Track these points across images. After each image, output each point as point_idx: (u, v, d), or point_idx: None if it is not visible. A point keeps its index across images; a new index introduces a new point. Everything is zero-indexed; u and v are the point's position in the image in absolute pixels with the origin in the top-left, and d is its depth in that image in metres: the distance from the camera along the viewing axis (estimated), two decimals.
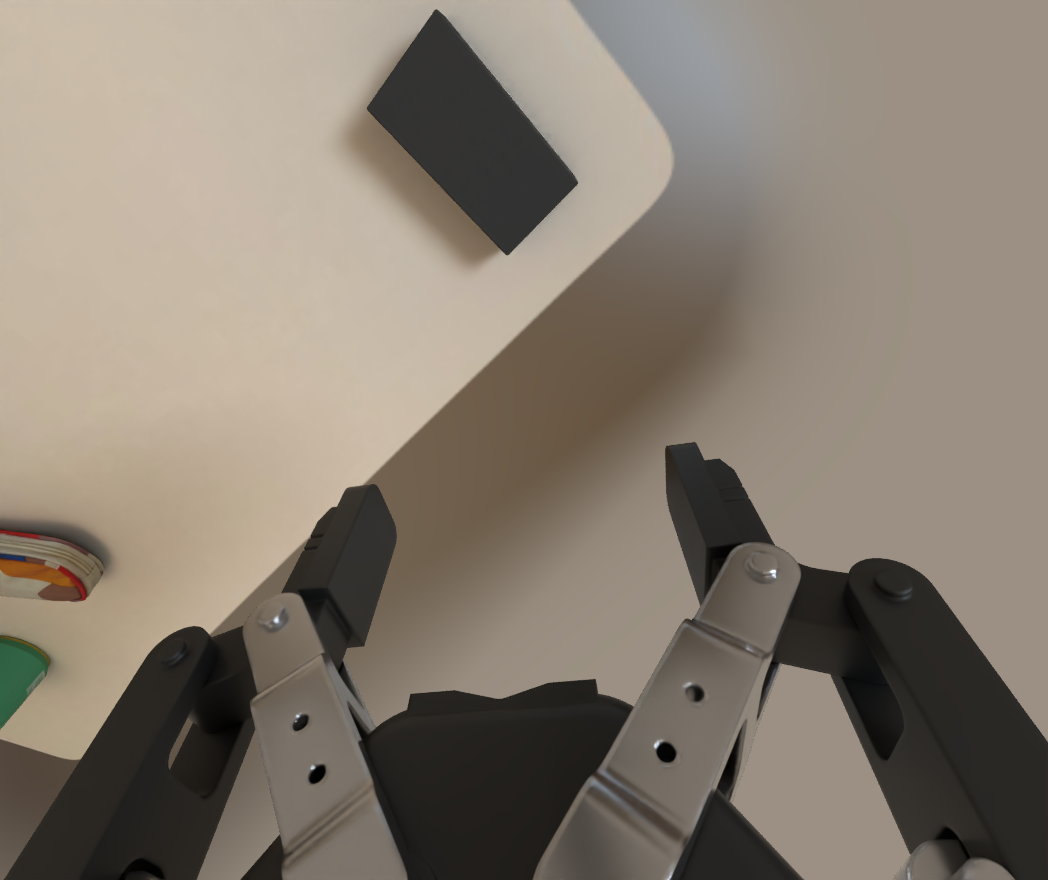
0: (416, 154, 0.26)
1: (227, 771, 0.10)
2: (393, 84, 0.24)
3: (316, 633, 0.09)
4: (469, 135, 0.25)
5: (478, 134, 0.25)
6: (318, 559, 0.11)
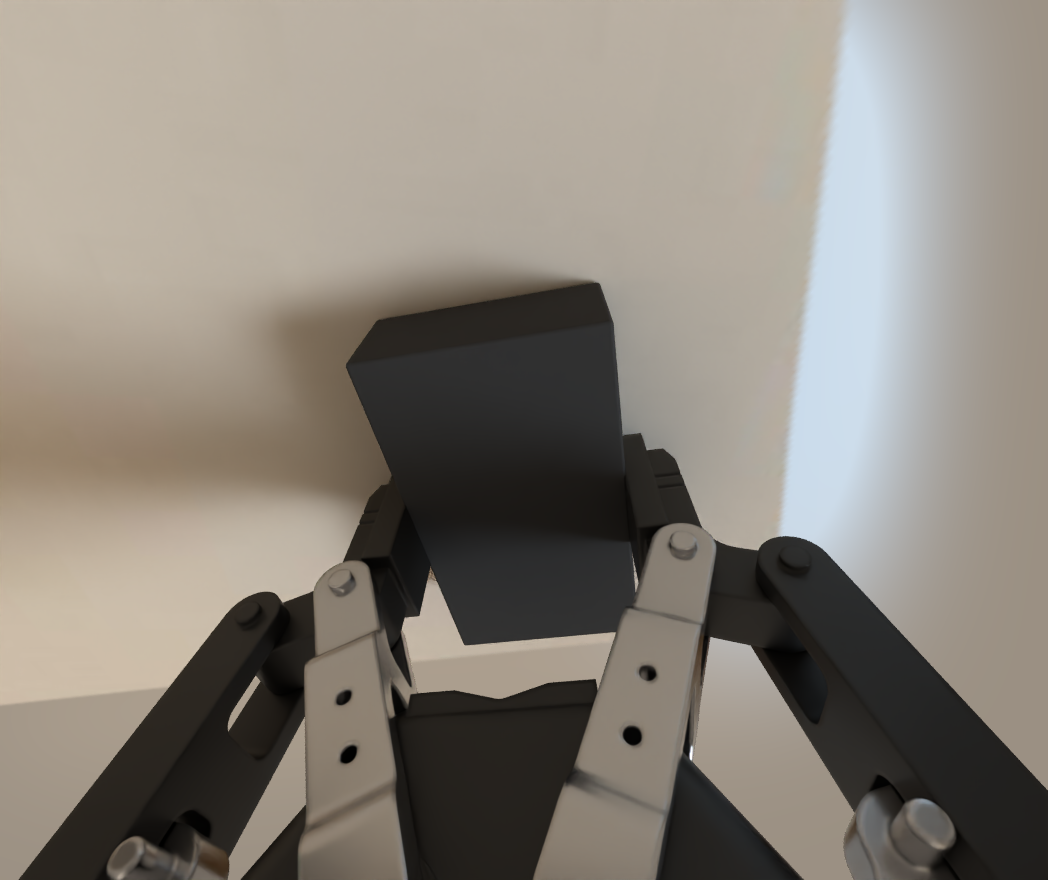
0: (402, 477, 0.12)
1: (282, 736, 0.10)
2: (433, 368, 0.10)
3: (376, 607, 0.10)
4: (521, 507, 0.12)
5: (539, 513, 0.12)
6: (377, 531, 0.12)
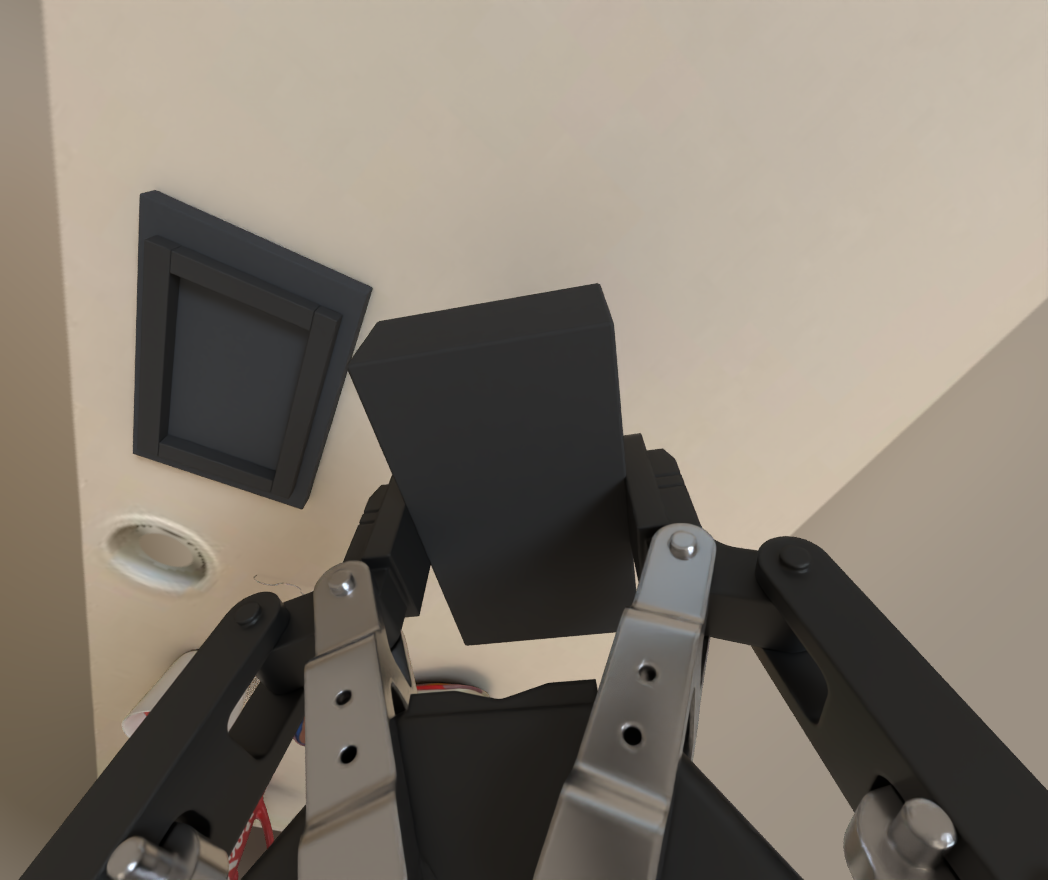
0: (403, 478, 0.12)
1: (282, 736, 0.10)
2: (434, 369, 0.10)
3: (376, 607, 0.10)
4: (522, 507, 0.12)
5: (539, 513, 0.12)
6: (377, 531, 0.12)
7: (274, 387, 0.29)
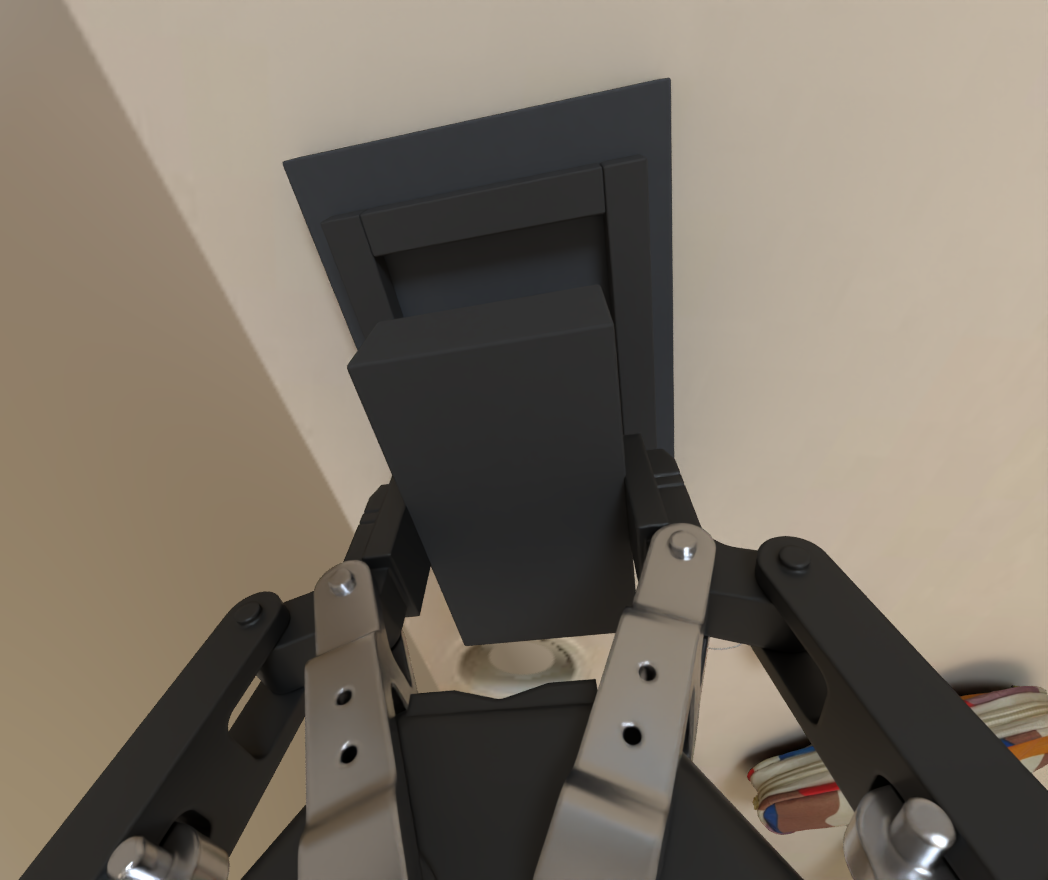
0: (403, 479, 0.12)
1: (283, 736, 0.10)
2: (434, 370, 0.10)
3: (376, 607, 0.10)
4: (521, 508, 0.12)
5: (539, 515, 0.12)
6: (378, 530, 0.12)
7: None
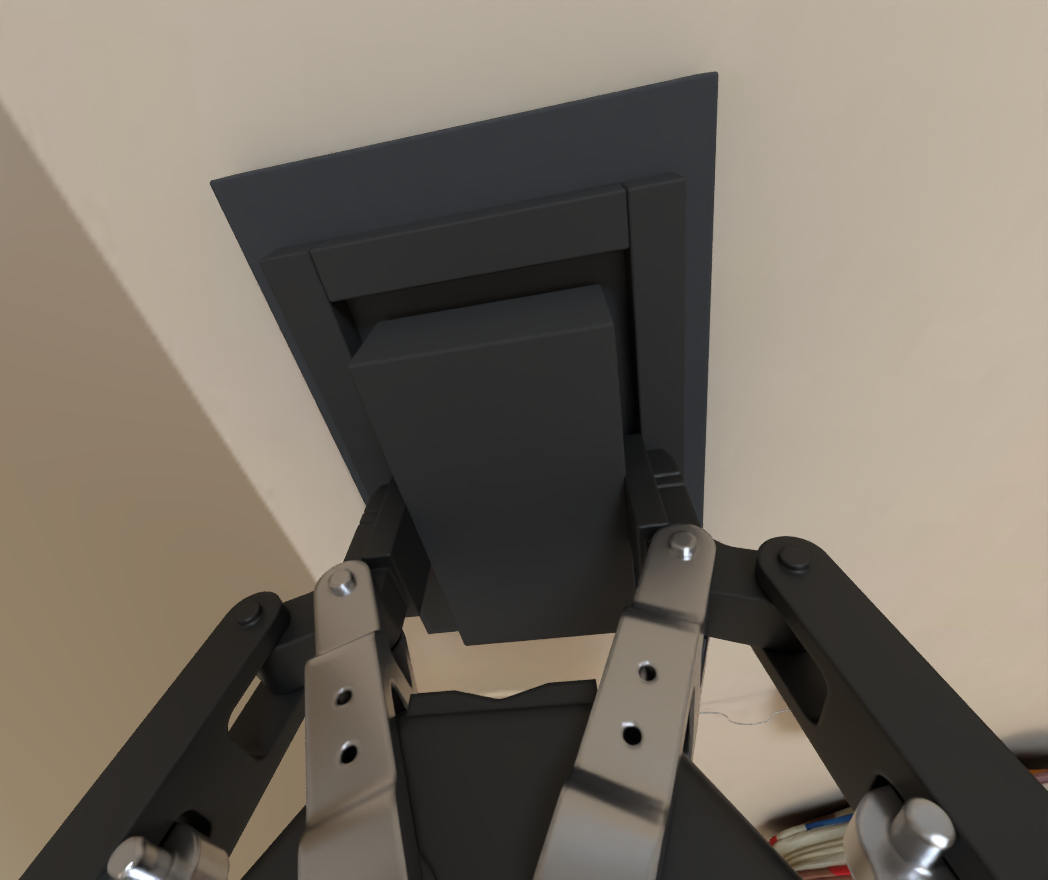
0: (403, 479, 0.12)
1: (282, 736, 0.10)
2: (434, 370, 0.10)
3: (376, 607, 0.10)
4: (522, 508, 0.12)
5: (539, 514, 0.12)
6: (378, 530, 0.12)
7: None
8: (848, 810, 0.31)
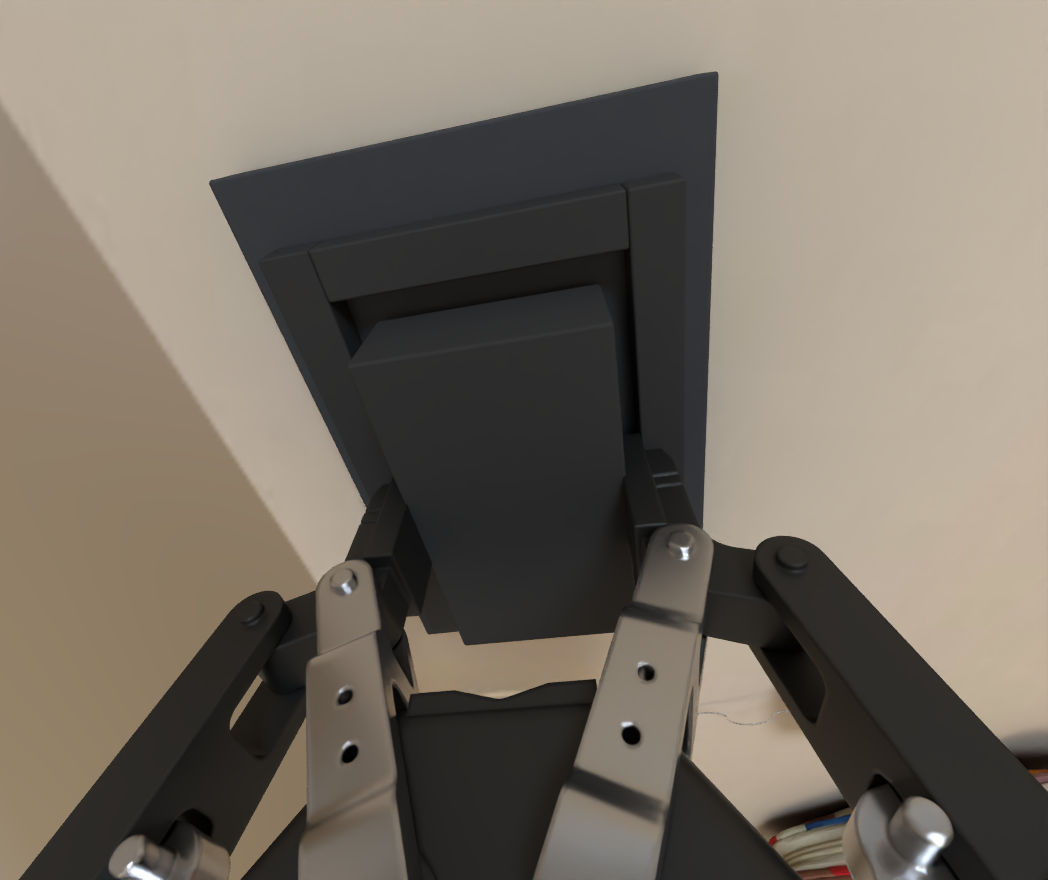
0: (403, 478, 0.12)
1: (284, 736, 0.10)
2: (434, 369, 0.10)
3: (378, 606, 0.10)
4: (522, 508, 0.12)
5: (539, 514, 0.12)
6: (379, 530, 0.12)
7: None
8: (848, 810, 0.31)
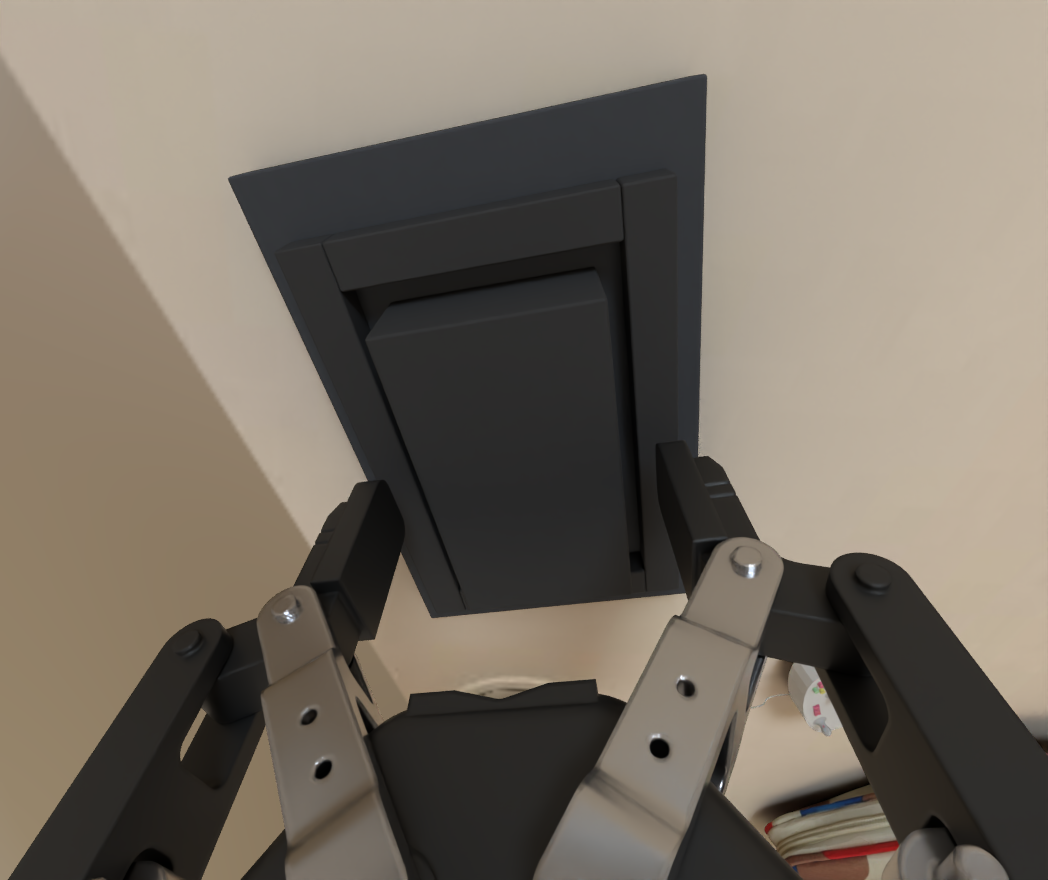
0: (414, 446, 0.13)
1: (238, 763, 0.10)
2: (444, 342, 0.11)
3: (328, 627, 0.10)
4: (524, 474, 0.13)
5: (539, 480, 0.13)
6: (330, 553, 0.11)
7: None
8: (842, 796, 0.32)
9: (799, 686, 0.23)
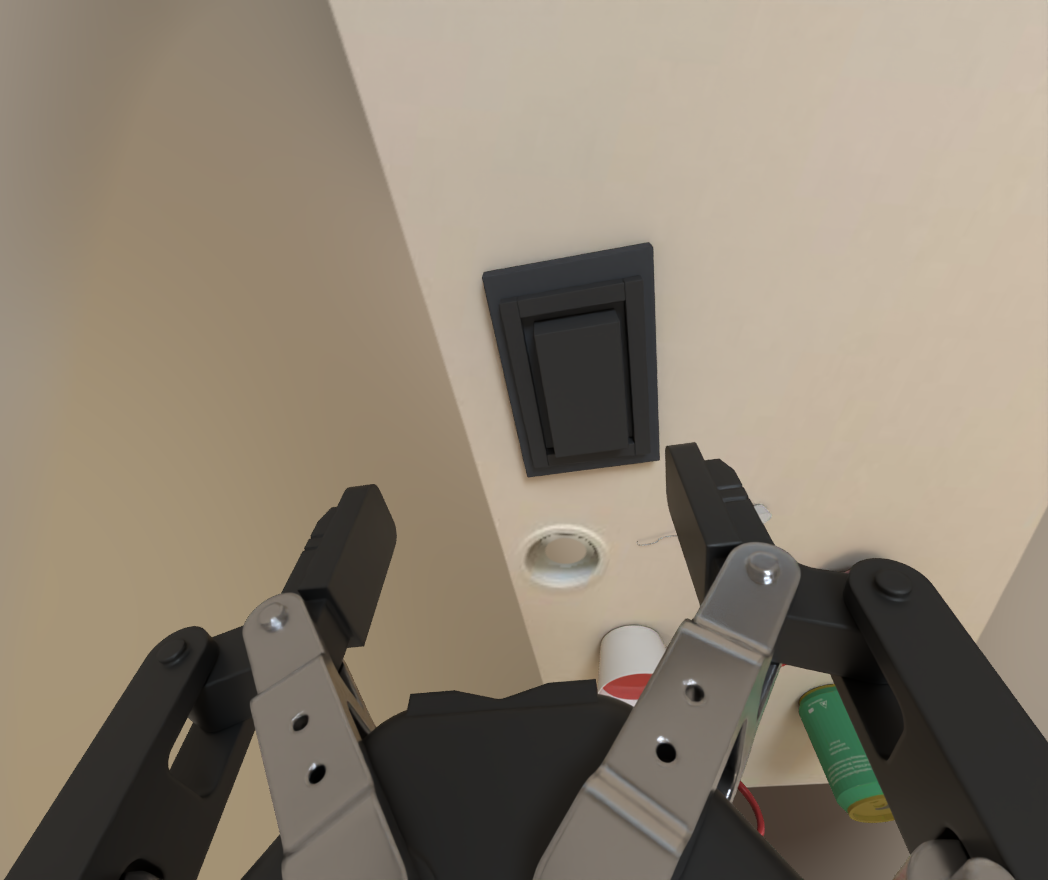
0: (544, 376, 0.33)
1: (227, 771, 0.10)
2: (562, 336, 0.32)
3: (316, 633, 0.09)
4: (586, 388, 0.34)
5: (591, 391, 0.34)
6: (318, 559, 0.11)
7: None
8: None
9: None
